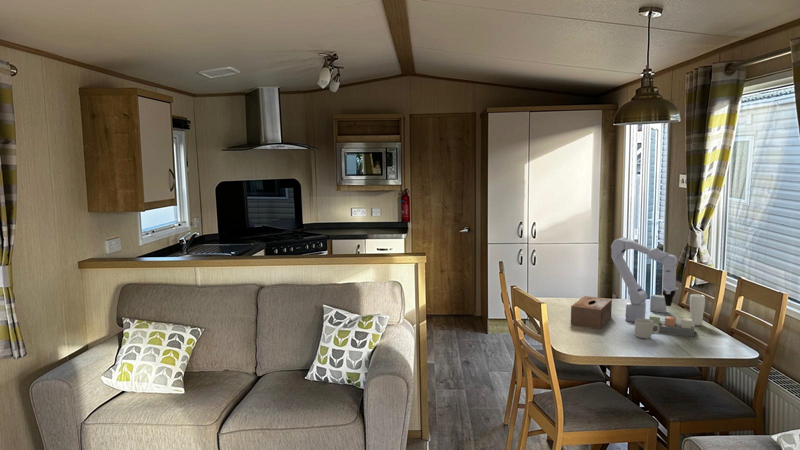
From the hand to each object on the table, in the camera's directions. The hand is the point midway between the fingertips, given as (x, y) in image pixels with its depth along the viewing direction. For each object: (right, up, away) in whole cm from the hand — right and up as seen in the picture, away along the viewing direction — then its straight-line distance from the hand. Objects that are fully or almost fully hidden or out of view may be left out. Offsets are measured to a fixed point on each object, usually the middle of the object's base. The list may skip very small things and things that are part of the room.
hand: (668, 305), depth 285 cm
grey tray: (-3, -11, -7) cm, 14 cm away
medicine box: (+8, -8, +29) cm, 31 cm away
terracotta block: (-3, -9, -8) cm, 12 cm away
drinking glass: (+15, -10, +3) cm, 19 cm away
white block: (+3, -9, -11) cm, 15 cm away
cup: (-19, -13, -18) cm, 29 cm away
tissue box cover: (-35, -10, +10) cm, 38 cm away
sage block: (-9, -8, -4) cm, 13 cm away
